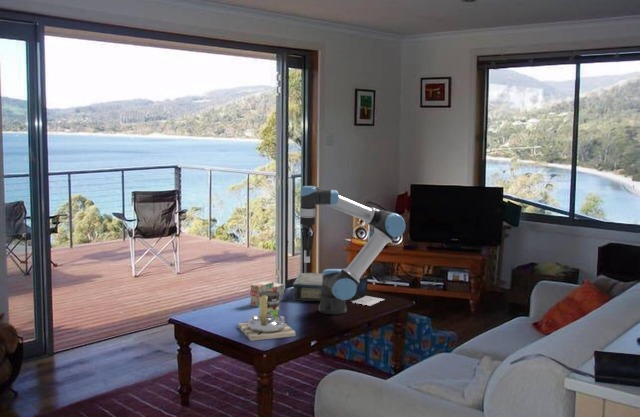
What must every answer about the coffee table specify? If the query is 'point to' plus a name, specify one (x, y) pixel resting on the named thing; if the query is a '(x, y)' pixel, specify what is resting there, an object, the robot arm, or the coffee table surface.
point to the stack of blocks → (264, 287)
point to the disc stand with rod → (266, 320)
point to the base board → (261, 336)
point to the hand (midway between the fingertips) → (306, 262)
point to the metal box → (308, 287)
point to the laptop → (364, 294)
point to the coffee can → (271, 302)
